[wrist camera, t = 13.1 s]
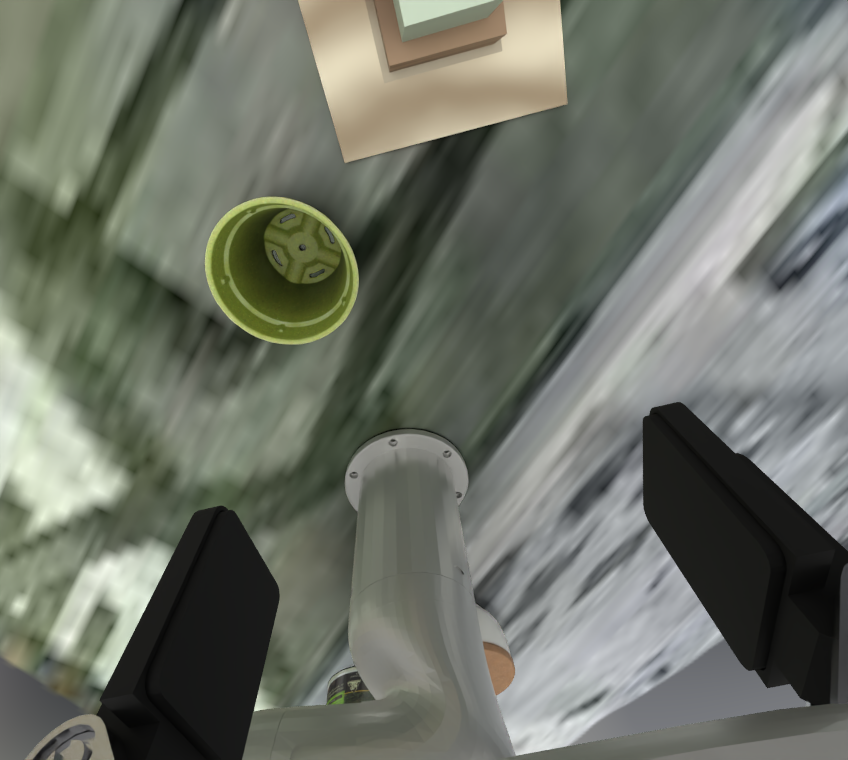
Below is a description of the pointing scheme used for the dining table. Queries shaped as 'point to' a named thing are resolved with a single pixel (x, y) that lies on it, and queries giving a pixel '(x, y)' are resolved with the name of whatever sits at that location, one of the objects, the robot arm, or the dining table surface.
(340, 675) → the coffee can
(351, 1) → the plate
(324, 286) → the plant pot
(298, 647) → the dining table surface
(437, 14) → the sage cube
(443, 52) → the walnut base block
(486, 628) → the lidded jar
